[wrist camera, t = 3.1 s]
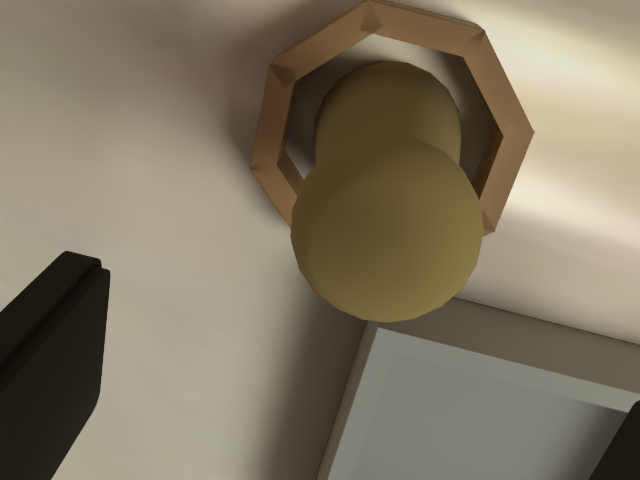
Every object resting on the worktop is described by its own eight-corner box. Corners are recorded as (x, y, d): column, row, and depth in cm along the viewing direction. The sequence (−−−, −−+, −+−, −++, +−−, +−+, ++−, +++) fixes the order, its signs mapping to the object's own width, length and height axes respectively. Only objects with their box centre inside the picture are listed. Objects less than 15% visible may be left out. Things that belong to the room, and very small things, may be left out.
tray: (379, 278, 28) (378, 327, 24) (695, 359, 28) (740, 420, 24) (308, 501, 34) (298, 565, 31) (563, 565, 35) (584, 637, 31)
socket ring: (293, -24, 23) (285, -22, 21) (553, 43, 23) (567, 51, 21) (247, 214, 27) (237, 233, 25) (464, 270, 27) (469, 293, 25)
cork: (463, 55, 23) (516, 132, 13) (460, 201, 26) (504, 357, 16) (307, 66, 24) (249, 147, 14) (320, 207, 27) (279, 359, 17)
